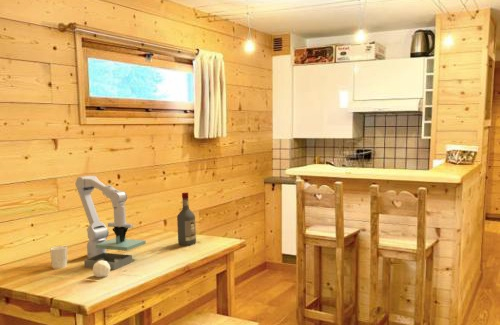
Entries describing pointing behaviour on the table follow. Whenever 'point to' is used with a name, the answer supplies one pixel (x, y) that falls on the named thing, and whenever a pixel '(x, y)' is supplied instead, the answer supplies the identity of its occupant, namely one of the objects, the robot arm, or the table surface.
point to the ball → (101, 268)
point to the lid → (120, 244)
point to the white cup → (59, 256)
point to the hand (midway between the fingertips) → (120, 241)
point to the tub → (109, 260)
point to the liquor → (186, 224)
